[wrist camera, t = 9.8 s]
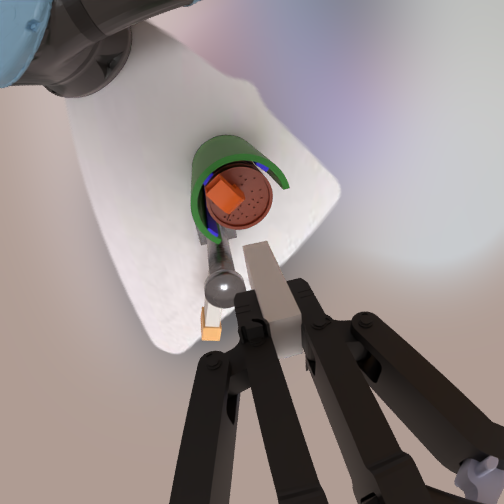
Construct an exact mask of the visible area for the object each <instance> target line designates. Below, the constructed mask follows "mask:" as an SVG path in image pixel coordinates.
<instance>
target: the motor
mask: <svg viewBox="0 0 504 504" xmlns="http://www.w3.org/2000/svg"><path fill="white" fill-rule="evenodd" d="M252 161H253V162H254V163H255V164H256V165H257V166H258V167H260V168H261V169H262V170H264V171H265V172H267V173H268V174H269V175H270V176H271V177H272V178H273V179H274V180H275V181H276V182H277V183H278V184H279V185H280V187H281V188H282V189H283V190H284V189H288V188H290V187H289V184H288V181H287V179H286V177H285V176H284V174H283V173H282V171H281V170H280V169H279V168H278V167H277V166H276V165H275V164H274V163H272V162H271V161H270V160H269V159H268V158H266V157H265V156H264V155H263V154H262V153H260V152H259V151H258V150H257V149H255V148H254V147H253V146H252V145H250V144H249V143H248V142H247V141H245V140H243V139H242V138H239V137H236V136H232V135H222V136H217V137H214V138H212V139H210V140H208V141H207V142H205V143H204V144H203V145H202V146H201V147H200V148H199V149H198V151H197V152H196V154H195V156H194V159H193V163H192V180H191V212H192V216H193V219H194V222H195V224H196V226H197V227H198V229H199V230H200V231H201V232H202V234H203V235H204V236H206V237H207V238H208V239H209V240H211V241H212V242H214V243H216V244H220V242H221V241H222V237H221V232H220V227H219V224H220V225H221V226H223V227H226V228H229V229H235V230H240V229H246V228H249V227H252V226H254V225H256V224H257V223H259V222H260V221H261V220H262V219H263V218H264V217H265V216H266V215H267V213H268V212H269V210H270V208H271V205H272V199H273V194H272V188H271V185H270V183H269V181H268V180H267V179H266V177H265V176H264V175H263V174H262V173H261V172H260V171H259V170H258V168H257V167H256V166H255V165H254V164H253V162H252ZM202 184H204V185H202Z"/></svg>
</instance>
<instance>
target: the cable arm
mask: <svg viewBox="0 0 504 504" xmlns="http://www.w3.org/2000/svg"><path fill="white" fill-rule="evenodd" d="M209 275H210V274H209V271H208V276H209ZM221 313H222V308H218V307H215V306H213V305H211V304H210V303H209V302H208V301H207V300H206V297H205V304H204V307H202V311H201V333H202V340H212V341H213V340H214V341H215V340H216V341H219V340H220V335H221V329H222V328H221V321H220V319H221Z"/></svg>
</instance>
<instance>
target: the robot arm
mask: <svg viewBox="0 0 504 504" xmlns="http://www.w3.org/2000/svg"><path fill="white" fill-rule="evenodd" d="M198 1H201V0H0V88H5V87H8V86H19V85H43V86H44V87H45V88H46V89H47V90H48V91H50V92H51V93H53V94H55V95H57V96H60V97H66V98H77V97H83V96H87V95H90V94H93V93H95V92H97V91H99V90H100V89H102V88H103V87H105V86H106V85H107V84H108V83H110V82H111V81H112V80H113V79H114V78H115V77H116V76H117V74H118V73H119V72H120V70H121V69H122V67H123V66H124V64H125V62H126V60H127V58H128V55H129V52H130V49H131V42H132V35H131V30H130V26H132V25H134V24H137V23H139V22H141V21H144V20H146V19H148V18H151V17H153V16H156V15H159V14H161V13H164V12H167V11H170V10H173V9H176V8H178V7H181V6H183V7H188V6H191V5H193V4H195V3H196V2H198ZM243 251H244V257H245V262H246V267H247V272H248V277H249V282H250V286H251V289H252V290H250V291H245V292H241V293H236V295H235V298H234V300H233V302H234V307H235V312H236V317H237V321H238V333H239V337H240V341H239V343H238V344H237V345H236V346H235V348H233V349H232V350H230V351H228V352H226V353H223V352H221V351H211V352H208V353H206V354H204V355H203V356H202V357H201V358H200V360H199V363H198V366H197V371H196V375H195V380H194V384H193V389H192V393H191V398H190V402H189V407H188V411H187V416H186V422H185V426H184V430H183V435H182V440H181V445H180V450H179V455H178V460H177V465H176V470H175V475H174V481H173V486H172V492H171V497H170V503H169V504H229V498H230V489H231V479H232V469H233V459H234V450H235V440H236V430H237V421H238V410H239V401H240V393H241V392H242V391H244V390H246V389H248V388H250V387H251V390H252V394H253V399H254V403H255V407H256V412H257V416H258V420H259V425H260V429H261V433H262V437H263V441H264V445H265V450H266V453H267V458H268V462H269V466H270V470H271V473H272V477H273V481H274V485H275V489H276V493H277V497H278V503H279V504H328V501H327V498H326V495H325V493H324V491H323V489H322V487H321V485H320V483H319V480H318V478H317V474H316V471H315V468H314V466H313V462H312V460H311V456H310V453H309V451H308V447H307V445H306V442H305V439H304V435H303V433H302V429H301V426H300V423H299V420H298V417H297V414H296V411H295V408H294V405H293V402H292V399H291V396H290V393H289V390H288V387H287V383H286V380H285V377H284V374H283V371H282V368H281V365H280V362H279V359H283V358H287V357H291V356H294V355H298V354H302V353H303V349H304V352H305V354H306V371H307V370H308V368H309V371H310V373H311V376H312V378H313V381H314V383H315V386H316V388H317V391H318V394H319V396H320V398H321V401H322V404H323V406H324V409H325V411H326V414H327V417H328V419H329V422H330V424H331V427H332V429H333V432H334V435H335V437H336V440H337V442H338V445H339V448H340V450H341V453H342V455H343V458H344V461H345V463H346V466H347V468H348V471H349V474H350V476H351V479H352V484H353V491H354V495H355V497H356V500H357V502H358V504H496V503H497V501H498V499H499V497H500V494H501V493H502V490H503V488H504V427H503V426H501V425H499V424H496V423H493V422H492V421H491V420H490V419H489V418H488V417H487V416H486V415H485V414H484V413H483V412H482V411H480V409H478V408H477V407H476V406H475V405H474V404H473V403H472V402H471V401H470V400H469V399H468V398H467V397H466V396H465V395H464V394H463V393H462V392H461V391H460V390H459V389H457V388H456V387H455V386H454V385H453V384H452V383H451V382H450V381H449V380H448V379H447V378H446V377H445V376H444V375H443V374H441V373H440V372H439V371H438V370H437V369H436V368H435V367H434V366H433V365H431V364H430V363H429V362H428V361H427V360H426V359H425V358H424V357H423V356H422V355H421V354H420V353H418V352H417V351H416V350H415V349H414V348H413V347H412V346H411V345H409V344H408V343H407V342H406V341H405V340H404V339H403V338H402V337H400V336H399V335H398V334H397V333H396V332H395V331H394V330H392V329H391V328H390V327H389V326H388V325H387V324H385V323H384V322H383V321H382V320H381V319H380V318H379V317H378V316H376V315H375V314H373V313H370V312H360V313H357V314H356V315H354V316H353V318H352V320H347V321H338V320H333V319H332V318H331V317H330V316H328V315H326V314H325V313H324V311H323V309H322V307H321V306H320V304H319V302H318V300H317V299H316V297H315V295H314V293H313V291H312V290H311V288H310V286H309V284H308V283H307V282H306V281H305V280H303V279H302V278H298V279H294V280H290V281H286V280H285V278H284V276H283V274H282V271H281V269H280V267H279V265H278V263H277V261H276V259H275V257H274V255H273V252H272V250H271V248H270V246H269V244H268V242H267V241H263V242H259V243H254V244H250V245H245V246H243ZM369 386H370V387H371V388H372V389H373V390H374V391H375V392H376V393H377V395H378V396H379V397H380V398H381V399H382V400H383V401H384V402H385V403H386V405H387V406H388V407H389V408H390V409H391V410H392V411H393V412H394V413H395V414H396V415H397V417H398V418H399V419H400V420H401V421H402V422H403V423H404V424H405V425H406V426H407V427H408V429H409V430H410V431H411V432H412V433H413V434H414V435H415V436H416V437H417V438H418V439H419V440H420V442H421V443H422V444H423V445H424V446H425V447H426V448H427V449H428V450H429V451H430V453H432V455H433V456H434V457H435V458H436V459H437V460H438V461H439V462H440V463H441V464H442V465H443V466H445V467H446V468H448V469H449V470H450V471H452V472H454V473H456V474H457V475H456V478H455V485H456V486H457V487H459V488H460V489H461V490H463V491H464V493H465V498H462V497H459V496H456V495H453V494H449V493H447V492H444V491H441V490H438V489H435V488H432V487H430V486H427V485H425V483H424V481H423V479H422V477H421V475H420V473H419V470H418V468H417V466H416V464H415V462H414V460H413V459H412V457H411V456H410V455H409V454H407V453H405V452H403V451H402V450H401V448H400V447H399V444H398V443H397V441H396V438H395V437H394V434H393V432H392V430H391V428H390V426H389V424H388V422H387V420H386V418H385V416H384V414H383V412H382V410H381V408H380V406H379V404H378V402H377V400H376V398H375V397H374V395H373V393H372V391H371V389H370V387H369Z"/></svg>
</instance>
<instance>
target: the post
mask: <svg viewBox="0 0 504 504" xmlns="http://www.w3.org/2000/svg"><path fill="white" fill-rule="evenodd" d="M219 227H220V232H221V237H222V241H221V242H220V244H216V243H214V242H212V241H211V240H209V239H208V238H207V237H206V236H204V235H203V234H202V232H201V231H200V230H199V229H198V227H197V226H196V228H197V232H198V236H199V239H200V243H201V245H205V244H207V250H208V262H209V274H210V275H209V276H208V277H207V279H206V281H205V284H204V289H205V297H206V300H207V301H208V302H209V303H210V304H211V305H213V306H215V307H218V308H231V307H234V302H233V300H234V298H235V295H236V293H241V292H245V291H246V287H245V284H244V280H243V278H242V276H241V275H240V274H239V273H237V272H236V271H235V269H234V264H233V260H232V256H231V251H230V247H229V242H228V239H232V238H236V237H237V236H236V231H235V229H229V228H226V227H223V226H221V225H220V224H219Z"/></svg>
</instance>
